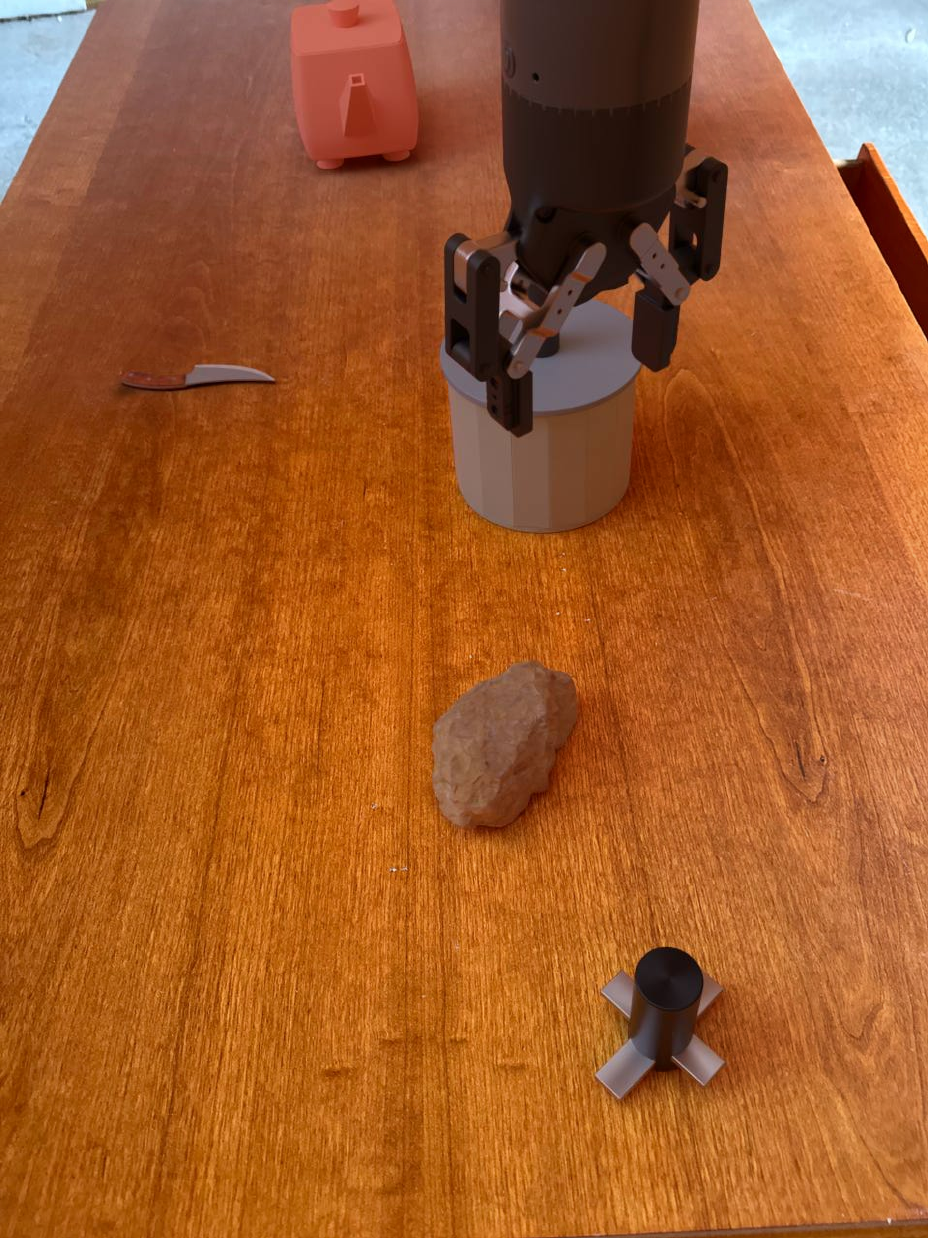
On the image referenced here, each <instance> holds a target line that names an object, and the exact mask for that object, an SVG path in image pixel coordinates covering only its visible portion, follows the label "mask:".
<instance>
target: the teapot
mask: <svg viewBox="0 0 928 1238" xmlns="http://www.w3.org/2000/svg"><path fill="white" fill-rule="evenodd" d="M290 71H291V73H290V74H291V85H292V86H291V87H292V94H293V95H292V96H293V105H294V112H295V118H296V123H297V127H298V131H299V134H300V138H301V141H302V144H303V146H304V149H305V152H306V154H307V156H308V158H309V159H310V160H311V161H314V162H316V164H317V167H319V168H320V169H323V170H332V169H333V170H334V169H338V168H339V167H341V166H343V165H344V163H345V159H349V158H350V159H351V158H358V157H368V156H375V155H382V158H383V159H384V160H386V161H387V162H399V161H404V160H406V159H408V158H409V157H410V155H411V153H410V151H411V150H413V149H415V147H416V145H417V141H418V135H419V134H418V132H419V103H418V102H419V101H418V94H417V86H416V80H415V75H414V73H415V72H414V69H413V63H412V58H411V54H410V50H409V45H408V42H407V38H406V33H405V29H404V26H403V23H402V19H401V16H400V13H399V9H398V7H397V4H396V3H395V1H394V0H330V1H329V2H327V3H326V2H325V3H318V4H310V5H309V4H308V5H302V6H296V7H295V8H294V9H293V11H292V13H291V19H290Z"/></svg>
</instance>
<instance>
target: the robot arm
mask: <svg viewBox="0 0 928 1238" xmlns="http://www.w3.org/2000/svg"><path fill="white" fill-rule="evenodd" d="M700 1H701V0H499V34H500V35H499V36H500V85H501V86H500V88H501V89H500V90H501V92H500V93H501V129H502V131H501V133H502V136H501V137H502V166H503V172H504V176H505V180H506V184H507V188H508V191H509V197H510V208H509V212H508V215H507V218H506V220H505V223H504V225H503V229H502V231H501V232H498V233H495V234H492V235H488V236H486V237H483V238H480V239H478V240H473V239H471V238H470V237H469V236H467V235H466V234H465V233H463V232H456V233H453V234H452V235H450V236H449V237H448V239H447V240H446V242H445V244H444V246H443V247H444V248H443V275H444V276H443V281H444V282H443V283H444V289H443V290H444V336H445V351H446V353H447V355H448V356H450V357H451V358H452V359H453V360H454V361H456V362H457V363H458V364H459V365H460V366H461V367H463V368H464V369H465V370H466V371H467V372H468V373H470V374H471V375H472V376H473V377H474V378H475V379H477V380H478V381H479V382H486V392H487V394H486V396H487V411H488V413H489V414H490V416H491V417H492V418H493V419H494V420H495V421H496V422H497V423H499V424H500V425H501V426H502V427H503V428H504V429H505V430H507V431H510V432H511V433H512V434H513V435H514V436H516V437H517V438H520V437H522V436H524V435H526V434H528V433H530V432H532V430H533V372H532V371H530V370H529V368H530V366H531V364H532V363H533V361H534V359H535V357H536V355H537V354H538V352H539V350H540V348H541V346H542V344H543V343H544V341H545V339H546V338H548V337H553V336H555V335H557V334H558V333H559V331H560V329H561V328H562V326H563V324H564V322H565V320H566V319H567V317H568V315H569V313H570V311H571V310H572V308H573V307H577V306H579V305H581V304H583V303H586V302H588V301H589V300H591V299H592V298H593V299H594V298H595V297H597V295H599V294H600V293H602V292H605V291H606V292H607V291H614V290H617V289H619V288H622V287H624V286H626V285H628V284H629V283H630V282H629V281H630V277H631V276H632V275H633V276H634V277H635V278H636V279H637V281H638V282H639V283H640V284H641V285H643V288H642V289H639V290H637V291H635V292H634V303H633V304H634V305H633V306H634V307H633V315H632V316H633V318H632V321H633V330H632V343H631V351H632V354H633V356H634V357H635V359H636V360H638V361H639V362H640V363H642V364H643V366H645V368H647V369H648V370H650V371H651V372H653V373H658V372H660V371H662V370H664V369H666V368H668V367H669V366H670V364H671V357H672V354H674V351H675V348H676V346H677V340H678V333H679V324H680V315H681V305H682V304H683V303H684V302H685V301H687V299H688V298H689V296H690V293H691V287H692V286H693V285H694V284H695V283H697V281H699V280H701V281H703V282H709V281H711V280H713V279H714V278H715V277H716V275H718V273H719V271H720V268H721V263H722V261H721V260H722V249H723V239H724V238H723V237H724V227H725V215H726V205H727V204H726V203H727V191H728V181H729V180H728V179H729V178H728V177H729V167H728V165H727V163H725V162H723V161H721V160H720V159H718V158H716V157H715V156H713V155H712V154H710V153H708V152H705V150H702V149H700V148H697V147H695V146H694V145H692V144H690V143H688V142H687V133H688V126H689V125H688V124H689V113H690V103H691V95H692V86H693V85H692V84H693V74H694V62H695V55H696V54H695V52H696V43H697V35H698V33H697V32H698V23H699V14H700ZM668 216H669V217H668ZM667 217H668V242H667V243H668V244H667V248H666V246H665V245H664V244H663V243H662V241H661V240H660V238H659V234H658V233H659V231H660V229H661V228H662V226H663V224H664V222H665V221H666V219H667ZM694 237H695V238H696V244H695V243H694ZM532 281H533V282H534V283H535V284H536V285H537V287H538V288H539V289H541V290H542V291H543V292H545V293H546V294H547V295H548V297H547V299H546V301H545V303H544V304H543V306H542V307H538V306H537V305H536V304H534V303H533V302H532V301H530V300H529V298H528V288H529V286H530V284H531V282H532ZM519 320H521V321H522V329H521V331H520V333H519V335H518V337H517V339H516V340H515V342H514V344H512V343H511V342H510V341H509V339H510V337H511V335H512V333H513V331H514V329H515V327H516V326H517V324H518V322H519Z"/></svg>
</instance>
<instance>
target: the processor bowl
mask: <svg viewBox="0 0 928 1238" xmlns="http://www.w3.org/2000/svg"><path fill="white" fill-rule="evenodd" d="M636 385H637V378H636V379H635V380H634V382H633V383H632V384H631V385H630V386H629V387H628V388H627V389H626V390H624V391H623V392H622V393H620V394H619V395H618V396H616V397H614V398H613V399H611V400H609V401H608V402H605V403H603V404H601V405H599V406H597V407H594V408H591V409H588V410H585V411H581V412H577V413H572V414H567V415H560V416H550V417H533V430H532V432H530V433H528V434H526V435H524V436H522V437H520V438H517V437H516V436H514V435H513V434H512V433H511V432H510V431H507V430H505V429H504V428H503V427H502V426H501V425H500V424H499V423H497V422H496V421H495V420H494V419H493V418H492V417H491V416H490V414H489V413H488V411H487V409H486V408H484V407H481V406H479V405H477V404H475V403H473V402H471V401H469V400H467V399H466V398H464V397H463V396H461V395H460V394H459V393H458V392H457V391H455V390H454V389H453V388H452V387H451V385H450V384H449V383H448V382H447V389H448V401H449V413H450V425H451V435H452V447H453V458H454V469H455V476H456V480H457V485H458V488H459V491H460V493H461V496H462V498H463V499H464V501H465V502H466V504H467V506H469V508H471V509H472V511H474V512H475V513H476V514H478V515H479V517H481V518H483V519H485V520H486V521H488V522H490V523H492V524H494V525H497V526H499V527H502V528H504V529H505V528H506V529H508V530H512V531H517V532H521V533H522V532H523V533H532V534H551V533H560V532H566V531H570V530H574V529H578V528H581V527H584V526H587V525H590V524H592V523H593V522H596V521H598V520H600V519H601V518H603V517H604V516H606V515H608V514H609V513H610V512H611V511H612V510H614V509H615V507H616V506H617V505H618V504H619V503H621V501H622V499H623V497H624V496H625V495H626V493H627V490H628V487H629V484H630V478H631V467H632V454H633V453H632V452H633V437H634V436H633V435H634V434H633V433H634V417H635V402H636Z"/></svg>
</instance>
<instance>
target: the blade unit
mask: <svg viewBox="0 0 928 1238" xmlns="http://www.w3.org/2000/svg"><path fill="white" fill-rule="evenodd" d="M724 991H725V988H724V987H723V986H722V985H721V984H720V983H719V982H717V981H716V980H715V979H714V978H712V977H711V976H710V975H709V974H707V972H705V971H704V970H703V969H702V968H701V966H700V965H699V963H698V961H697V960H695V958H694V957H693V956H692V955H690V954H689V953H688V952H687V951H684V950H683V949H681V948H677V947H673V946H659V947H655V948H653V949H651V950H649V951H647V952H645V954H643V955H642V956H641V957H640V959H639V960H638V962H637V964H636V967H635V969H634V977H633V978H632V977H631V976H630V975H629V974H628V973H627V972H626V971H624V970H623V969H620V971H618V972H617V973H616V974H615V975H614V977H612V978H611V979H610V980H609V981H608V982H607V983H606V984H605V985H604V987H602V988H601V989H600V990H599V995H600V997H601V998H603V999H604V1000H605V1002H607V1003H608V1004H609V1005H610V1006H611V1007H612V1008H614V1009H615V1010H616V1011H617V1012H618V1013H619V1014H620V1015H621V1016H622V1017H623V1018H625V1020H626V1021H627V1022H628V1033H627V1040H626V1041H625V1042H624V1043H623V1045H622V1046H620V1048H619V1049H617V1051H616V1052H615V1053H613V1055H612V1056H611V1057H610V1058H609V1059H607V1061H606V1062H605V1063H603V1065H602V1066H601V1067H599V1069H598V1070H597V1071H596V1073H594V1076H593V1078H594V1080H595V1081H596V1082H597V1083H598V1084H599V1085H600V1086H601V1087H602V1088H603V1089H604V1090H605V1091H606V1092H607V1093H608V1094H609V1095H610V1096H612V1098H613V1099H614V1100H615V1101H616V1102H617V1103H621V1102H622V1101H623V1100H625V1098H626V1097H627V1096H628V1095H629V1094H630V1093H631V1092H632V1091H633V1089H635V1087H636V1086H637V1085H638V1084H640V1082H641V1081H642V1080H643V1079H644V1078H645V1077H646V1076H647V1075H648V1074H649V1072H651V1070H652V1071H655V1072H669V1071H672V1070H675V1069H677V1068H679V1069H680V1070H681V1071H682V1073H684V1074H685V1075H686V1076H687V1077H688V1078H689V1079H690V1080H692V1081H693V1082H694V1083H695V1084H696V1085H697V1086H698V1087H699V1088H700V1089H701V1090H705V1089H706V1088H707V1087H708V1085H710V1084H711V1082H713V1080H714V1079H715V1078H716V1077H717V1076H718V1074H719V1073H720V1072H721V1071H722V1070H723V1069H724V1068H725V1067H726V1061H725V1060H724V1058H722V1057H721V1056H720V1055H719V1054H718V1053H716V1052H715V1051H714V1050H713V1049H712V1048H711V1047H710V1046H708V1044H707V1043H705V1042H704V1041H703V1040H702V1039H701V1038H699V1036H698V1035H696V1034H695V1033H694V1032H695V1028H696V1024H697V1022H698V1020H699V1019H700V1018H701V1017H702V1016H703V1015H704V1014H705V1013H706V1012H707V1010H708V1009H710V1008H711V1007H712V1005H713V1004H714V1003H715V1002H716V1001H717V1000H718V999H719V998H720V997H721V996H722V995H723V993H724Z"/></svg>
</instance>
